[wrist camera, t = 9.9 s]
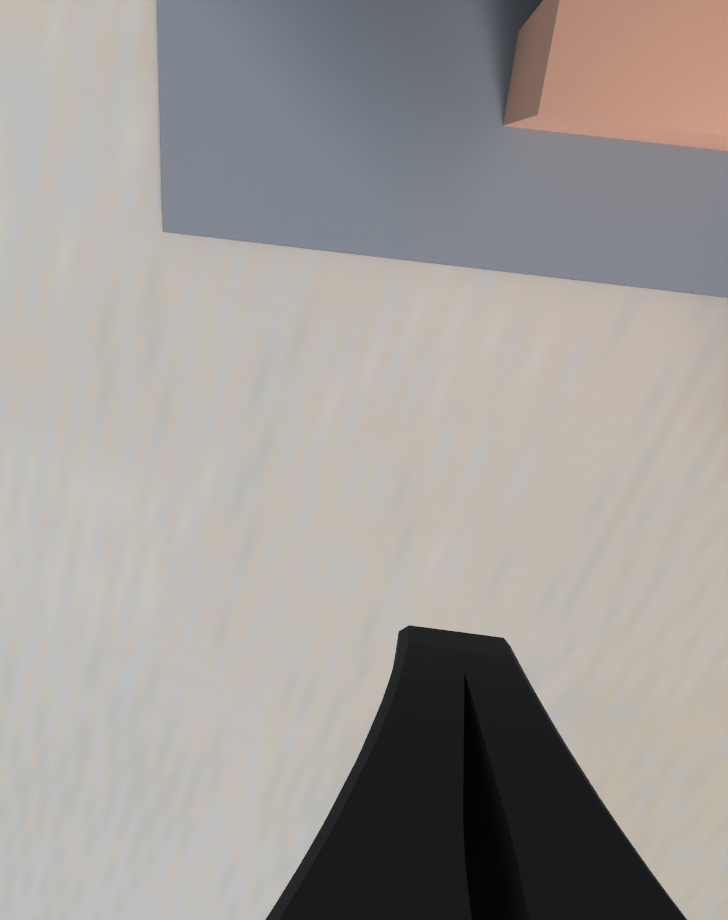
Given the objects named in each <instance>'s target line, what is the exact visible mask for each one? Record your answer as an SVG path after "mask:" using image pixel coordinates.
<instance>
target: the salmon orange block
mask: <svg viewBox="0 0 728 920" xmlns="http://www.w3.org/2000/svg"><path fill="white" fill-rule="evenodd" d="M503 126H507V127H516V128H525V129H534V130H543V131H552V132H561V133H570V134H579V135H588V136H597V137H606V138H616V139H625V140H634V141H643V142H652V143H661V144H670V145H679V146H688V147H697V148H706V149H715V150H724V151H728V0H543V1H542V2H541V4H540V5H539V6H538V7H537V9H536V10H535V11H534V12H533V14H532V15H531V16H530V17H529V19H528V20H527V21H526V22H525V24H524V25H523V26H522V27H521V28H520V30H519V32H518V38H517V44H516V50H515V56H514V62H513V68H512V74H511V80H510V86H509V91H508V97H507V103H506V109H505V115H504V121H503Z"/></svg>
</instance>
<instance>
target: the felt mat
mask: <svg viewBox="0 0 728 920" xmlns="http://www.w3.org/2000/svg"><path fill="white" fill-rule="evenodd" d="M542 1H543V0H157V23H158V64H159V104H160V145H161V185H162V226H163V232H169V233H177V234H186V235H194V236H203V237H211V238H220V239H229V240H237V241H246V242H254V243H263V244H271V245H280V246H289V247H297V248H306V249H314V250H323V251H331V252H340V253H349V254H357V255H366V256H374V257H383V258H391V259H400V260H409V261H417V262H426V263H434V264H443V265H451V266H460V267H468V268H477V269H486V270H494V271H503V272H511V273H520V274H528V275H537V276H546V277H554V278H563V279H571V280H580V281H588V282H597V283H606V284H614V285H623V286H631V287H640V288H648V289H657V290H666V291H674V292H683V293H691V294H700V295H708V296H717V297H725V298H728V151H724V150H715V149H706V148H697V147H688V146H679V145H670V144H661V143H652V142H643V141H634V140H625V139H616V138H606V137H597V136H588V135H579V134H570V133H561V132H552V131H543V130H534V129H525V128H516V127H507V126H503V121H504V115H505V109H506V103H507V97H508V91H509V86H510V80H511V74H512V68H513V62H514V56H515V50H516V44H517V38H518V32H519V30H520V28H521V27H522V26H523V25H524V24H525V22H526V21H527V20H528V19H529V17H530V16H531V15H532V14H533V12H534V11H535V10H536V9H537V7H538V6H539V5H540V4H541V2H542Z"/></svg>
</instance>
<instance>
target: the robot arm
mask: <svg viewBox="0 0 728 920" xmlns="http://www.w3.org/2000/svg"><path fill="white" fill-rule="evenodd" d="M266 920H687V919H686V918H685V917H684V915H683V914H682V913H681V911H680V910H679V909H678V907H677V906H676V905H675V903H674V902H673V901H672V899H671V898H670V897H669V895H668V894H667V893H666V891H665V890H664V889H663V887H662V886H661V885H660V883H659V882H658V881H657V879H656V878H655V877H654V875H653V874H652V872H651V871H650V870H649V868H648V867H647V865H646V864H645V863H644V861H643V860H642V858H641V857H640V856H639V854H638V853H637V851H636V850H635V848H634V847H633V846H632V844H631V843H630V841H629V840H628V839H627V837H626V836H625V834H624V833H623V831H622V830H621V829H620V827H619V826H618V824H617V823H616V821H615V820H614V818H613V817H612V815H611V814H610V812H609V811H608V809H607V808H606V806H605V805H604V803H603V802H602V801H601V799H600V798H599V796H598V794H597V793H596V791H595V790H594V788H593V787H592V785H591V783H590V782H589V780H588V779H587V777H586V776H585V774H584V772H583V771H582V769H581V768H580V766H579V765H578V763H577V762H576V760H575V758H574V757H573V755H572V754H571V752H570V751H569V749H568V747H567V746H566V744H565V742H564V741H563V739H562V737H561V736H560V734H559V733H558V731H557V729H556V728H555V726H554V724H553V722H552V721H551V719H550V717H549V716H548V714H547V712H546V710H545V709H544V707H543V705H542V704H541V702H540V700H539V698H538V697H537V695H536V693H535V691H534V689H533V688H532V686H531V684H530V682H529V680H528V679H527V677H526V675H525V673H524V671H523V669H522V668H521V666H520V664H519V662H518V660H517V658H516V656H515V654H514V653H513V651H512V649H511V647H510V645H509V644H508V643H507V642H506V640H505V639H504V638H500V637H492V636H485V635H477V634H470V633H462V632H454V631H447V630H439V629H432V628H424V627H416V626H407V627H406V628H404V629H402V630H401V631H399V634H398V641H397V647H396V654H395V660H394V666H393V670H392V673H391V677H390V680H389V683H388V686H387V688H386V691H385V694H384V697H383V700H382V703H381V705H380V707H379V710H378V712H377V715H376V717H375V719H374V722H373V724H372V726H371V729H370V731H369V733H368V736H367V738H366V740H365V743H364V745H363V747H362V750H361V752H360V754H359V756H358V758H357V760H356V762H355V764H354V766H353V768H352V770H351V772H350V774H349V776H348V778H347V780H346V782H345V784H344V786H343V788H342V789H341V791H340V793H339V795H338V797H337V799H336V801H335V803H334V805H333V807H332V809H331V811H330V813H329V815H328V817H327V818H326V820H325V822H324V824H323V826H322V827H321V829H320V831H319V833H318V834H317V836H316V838H315V840H314V842H313V843H312V845H311V847H310V849H309V850H308V852H307V854H306V855H305V857H304V859H303V860H302V862H301V864H300V865H299V867H298V869H297V870H296V872H295V874H294V875H293V877H292V879H291V880H290V882H289V883H288V885H287V887H286V888H285V890H284V892H283V893H282V895H281V896H280V898H279V900H278V901H277V903H276V904H275V906H274V908H273V909H272V911H271V912H270V914H269V915H268V917H267V918H266Z"/></svg>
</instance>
